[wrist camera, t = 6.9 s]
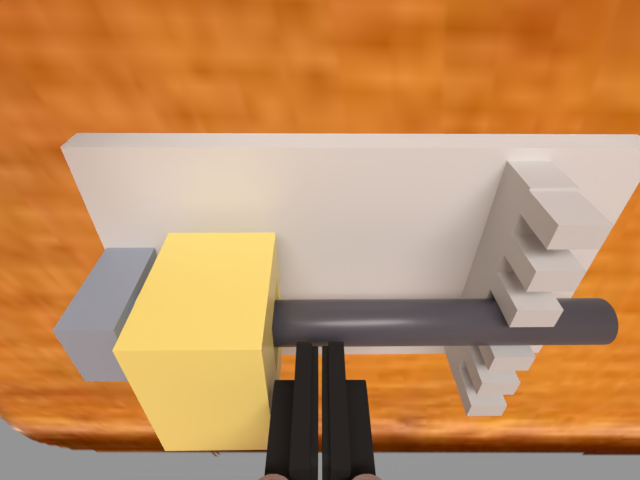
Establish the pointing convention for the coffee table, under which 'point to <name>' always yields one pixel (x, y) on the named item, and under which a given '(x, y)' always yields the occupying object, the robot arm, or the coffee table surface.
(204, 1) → the coffee table surface
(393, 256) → the comb board
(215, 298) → the yellow sliding block
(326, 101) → the coffee table surface
